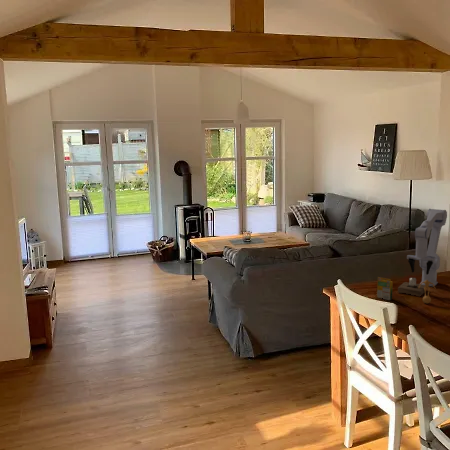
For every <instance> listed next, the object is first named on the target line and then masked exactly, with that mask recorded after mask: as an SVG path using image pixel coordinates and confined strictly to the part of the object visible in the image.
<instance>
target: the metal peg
mask: <svg viewBox="0 0 450 450" xmlns="http://www.w3.org/2000/svg"><path fill="white" fill-rule="evenodd" d="M408 279H409V282H408V283H409V287H411V288H416V284H417V278H416V277H409V278H408Z"/></svg>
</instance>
